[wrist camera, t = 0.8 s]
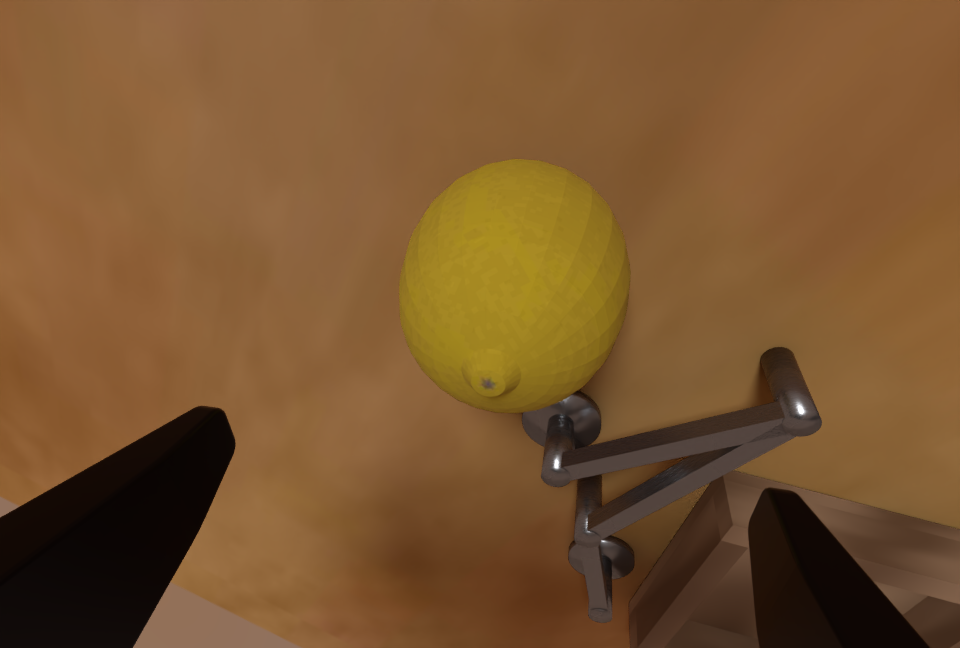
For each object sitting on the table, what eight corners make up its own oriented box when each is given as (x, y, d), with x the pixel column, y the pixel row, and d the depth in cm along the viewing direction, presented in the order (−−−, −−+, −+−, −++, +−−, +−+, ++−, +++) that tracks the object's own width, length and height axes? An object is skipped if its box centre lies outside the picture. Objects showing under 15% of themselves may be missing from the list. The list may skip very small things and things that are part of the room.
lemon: (666, 211, 16) (702, 397, 10) (537, 318, 19) (501, 513, 13) (526, 76, 15) (464, 191, 9) (411, 214, 18) (301, 376, 12)
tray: (1007, 542, 21) (1051, 609, 19) (845, 663, 28) (864, 722, 26) (721, 467, 22) (732, 524, 20) (628, 603, 28) (630, 657, 26)
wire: (800, 351, 18) (828, 416, 16) (642, 583, 27) (645, 647, 25) (559, 291, 19) (552, 346, 16) (482, 540, 28) (470, 599, 25)
